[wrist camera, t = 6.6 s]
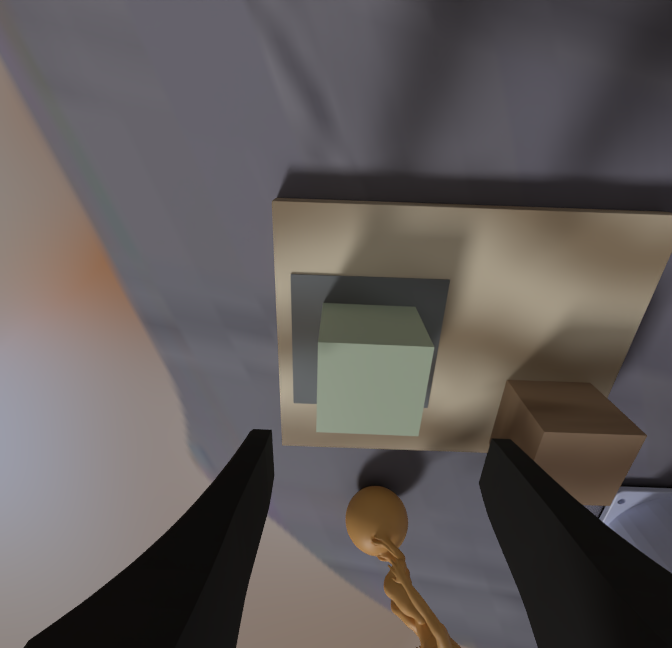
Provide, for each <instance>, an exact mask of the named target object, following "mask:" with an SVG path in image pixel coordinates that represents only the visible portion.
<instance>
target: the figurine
mask: <svg viewBox="0 0 672 648" xmlns="http://www.w3.org/2000/svg"><path fill="white" fill-rule="evenodd" d="M346 527H347V531H348V534H349V536H350V538H351V540H352V542H353V543H354V544H355V545H356V546H357V547H358V548H359V549H360V550H361V551H363V552H364V553H366V554H369V555H372V556H377V557H378V559H379V560H381V561H388V562H390V563H391V564H392V567H391V566H390V565H388V567H389V568H390V571H389V573H388V574H387V575H386V577H385V580H384V590H385V593H386V594H387V596H388V597H389V598H391V609H392V612H393V613H394V614H395V615H397V616H398V617H399V618H400V619H401V620H402V621H403V622H404V623H405V624H406V626H408V627H409V628H410V629H411V630H413V631H414V632H415V633H416V635H417V636H418V637H419V639H420V642H421V646H419V647H420V648H461V647H460V646H459V645H458V644H457V643H456V642H455V641H454V640H453V639H452V638H450V636H449V634H448V632H447V629H446V628H445V626H444V625H443V624H442V623H440V621H439V620H438V618H437V617H436V616H435V614H434V613H433V612H432V610H431V609H430V608H429V606H428V605H427V603H426V602H425V601H424V599H423V598H422V597H421V595H420V594H419V593H418V592H417V590H416V589H415V588H414V587H413V586H412V582H411V579H410V572H409V570H408V568H407V566H406V563H405V556H404V554H403V553H402V552H401V551H400V550H399V549H398V548H399V546H400V545H401V544H402V542H403V541H404V539H405V536H406V533H407V529H408V517H407V512H406V509H405V507H404V505H403V503H402V501H401V500H400V498H399V497H398V496H397V495H396V494H395V493H394V492H392V491H391V490H389V489H387V488H385V487H381V486H369V487H366V488H363V489H361V490H360V491H358V492H357V493H356V494H355V495H354V496H353V498H352V499H351V501H350V503H349V505H348V507H347V511H346ZM416 648H418V647H416Z"/></svg>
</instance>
